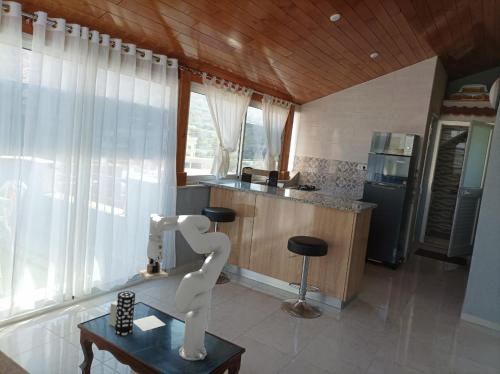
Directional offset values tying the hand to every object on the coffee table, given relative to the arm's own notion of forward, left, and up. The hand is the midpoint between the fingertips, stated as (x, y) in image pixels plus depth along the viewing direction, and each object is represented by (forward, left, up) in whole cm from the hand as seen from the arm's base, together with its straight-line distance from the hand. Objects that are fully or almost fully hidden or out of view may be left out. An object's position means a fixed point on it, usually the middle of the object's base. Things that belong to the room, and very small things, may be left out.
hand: (153, 271), depth 189 cm
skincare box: (+8, +14, -29) cm, 34 cm away
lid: (0, 0, -2) cm, 2 cm away
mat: (0, 0, -29) cm, 29 cm away
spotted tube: (-2, +15, -29) cm, 33 cm away
